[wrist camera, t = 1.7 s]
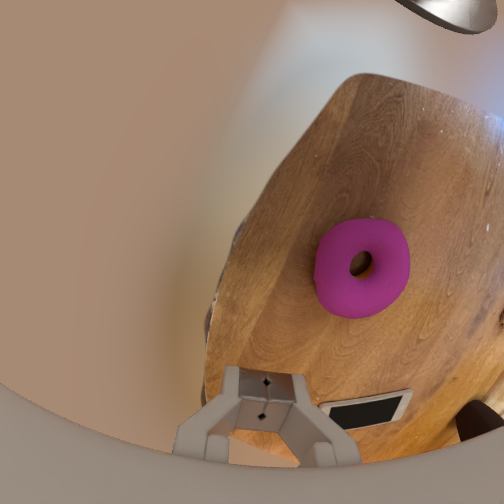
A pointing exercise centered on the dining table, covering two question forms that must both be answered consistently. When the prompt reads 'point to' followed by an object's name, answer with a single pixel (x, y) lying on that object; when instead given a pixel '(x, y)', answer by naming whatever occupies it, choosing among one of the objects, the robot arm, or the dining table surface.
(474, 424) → the cup
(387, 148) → the dining table surface
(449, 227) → the dining table surface
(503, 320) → the letter pile
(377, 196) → the dining table surface
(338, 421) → the smartphone
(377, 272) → the donut
